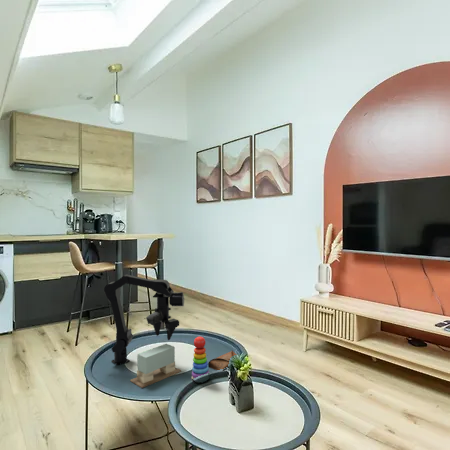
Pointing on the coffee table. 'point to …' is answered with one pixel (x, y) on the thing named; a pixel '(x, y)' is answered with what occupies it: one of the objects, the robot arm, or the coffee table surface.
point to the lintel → (155, 358)
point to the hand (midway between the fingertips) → (163, 337)
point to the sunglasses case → (221, 361)
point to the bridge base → (155, 375)
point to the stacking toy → (199, 358)
